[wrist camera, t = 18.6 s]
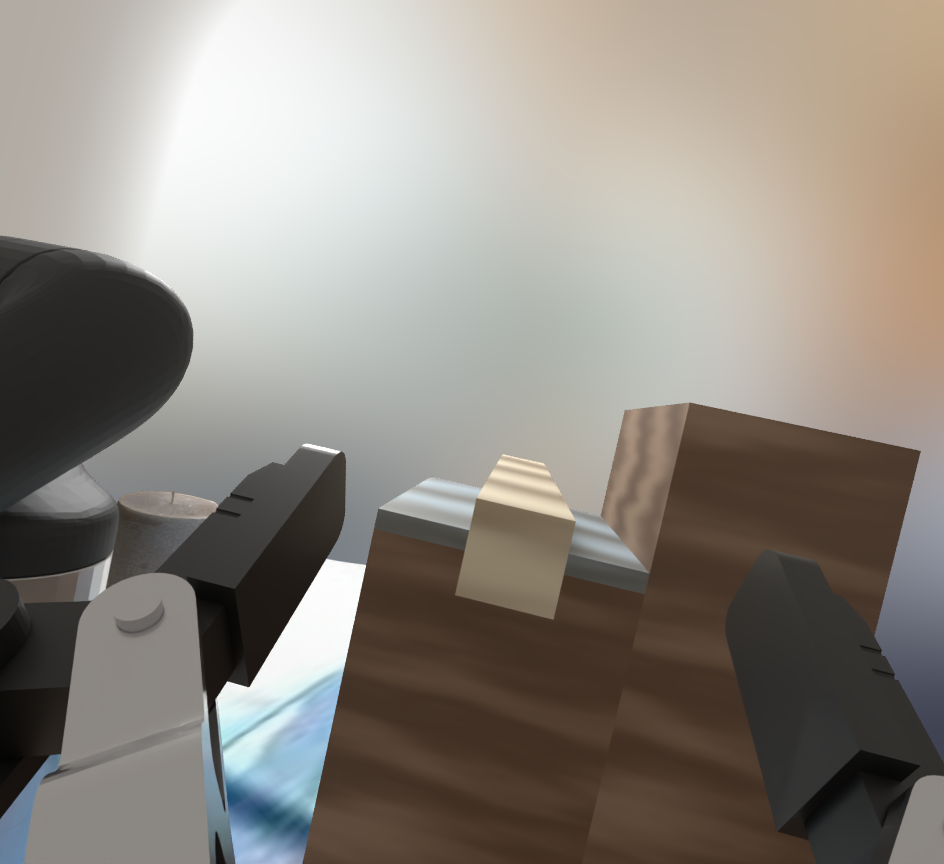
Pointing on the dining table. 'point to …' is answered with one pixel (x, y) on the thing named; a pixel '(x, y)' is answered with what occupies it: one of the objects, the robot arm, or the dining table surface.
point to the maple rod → (517, 540)
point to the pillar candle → (153, 530)
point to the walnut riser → (594, 657)
